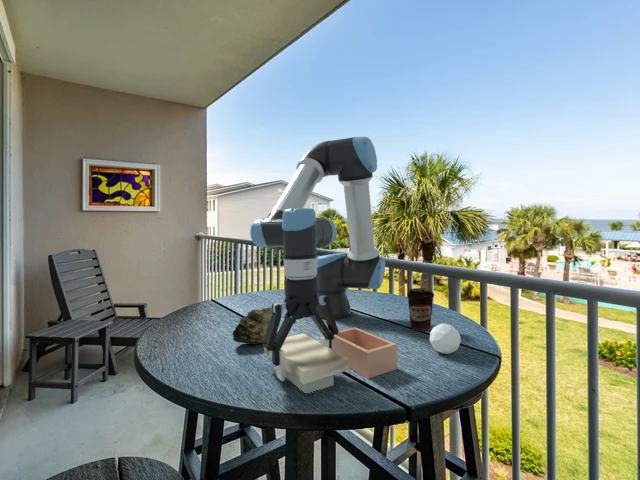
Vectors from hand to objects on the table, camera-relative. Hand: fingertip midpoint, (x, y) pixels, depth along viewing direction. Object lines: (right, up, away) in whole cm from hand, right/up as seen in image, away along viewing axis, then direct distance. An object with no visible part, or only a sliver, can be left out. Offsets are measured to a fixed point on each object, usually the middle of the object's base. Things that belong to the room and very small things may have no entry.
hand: (303, 371), depth 77 cm
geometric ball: (+37, 0, +12) cm, 39 cm away
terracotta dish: (+14, -1, +8) cm, 16 cm away
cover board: (0, +3, 0) cm, 3 cm away
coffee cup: (+37, +1, +32) cm, 49 cm away
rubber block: (0, -1, 0) cm, 1 cm away
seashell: (-16, -1, +24) cm, 29 cm away
